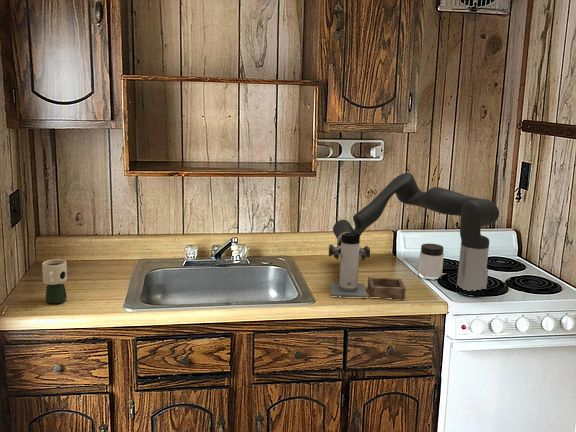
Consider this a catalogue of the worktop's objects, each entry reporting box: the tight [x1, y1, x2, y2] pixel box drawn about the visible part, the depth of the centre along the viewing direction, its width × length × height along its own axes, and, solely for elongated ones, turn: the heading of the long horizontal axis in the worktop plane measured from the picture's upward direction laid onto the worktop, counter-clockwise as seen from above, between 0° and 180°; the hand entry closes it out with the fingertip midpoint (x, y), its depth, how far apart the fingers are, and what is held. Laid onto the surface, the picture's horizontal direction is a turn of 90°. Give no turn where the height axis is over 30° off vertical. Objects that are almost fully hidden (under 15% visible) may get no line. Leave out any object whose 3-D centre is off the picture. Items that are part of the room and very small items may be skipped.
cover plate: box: [329, 282, 368, 298], centre depth 207 cm, size 12×12×1 cm
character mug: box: [41, 258, 68, 304], centre depth 188 cm, size 11×7×13 cm, turn 6°
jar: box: [417, 243, 445, 277], centre depth 225 cm, size 9×8×12 cm
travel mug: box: [338, 232, 362, 291], centre depth 205 cm, size 6×7×20 cm
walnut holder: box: [367, 276, 406, 300], centre depth 206 cm, size 12×10×4 cm
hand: (350, 257), depth 202 cm, fingers open, 8 cm apart
